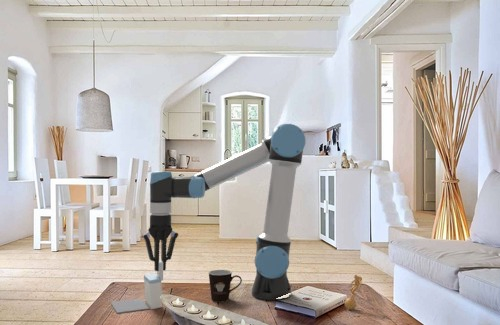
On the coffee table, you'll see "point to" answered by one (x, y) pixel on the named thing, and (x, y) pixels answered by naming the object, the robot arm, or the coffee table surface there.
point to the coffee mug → (221, 284)
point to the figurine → (350, 302)
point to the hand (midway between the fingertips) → (160, 279)
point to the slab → (153, 290)
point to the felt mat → (129, 305)
